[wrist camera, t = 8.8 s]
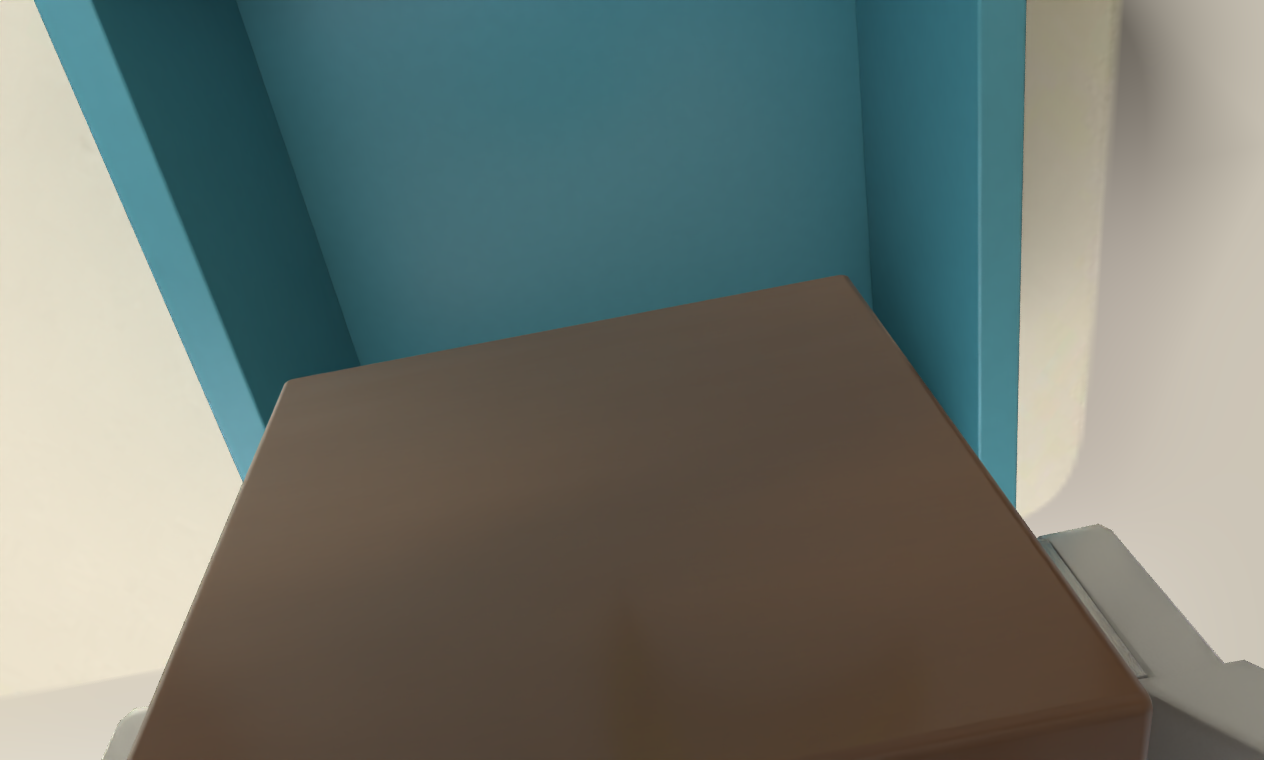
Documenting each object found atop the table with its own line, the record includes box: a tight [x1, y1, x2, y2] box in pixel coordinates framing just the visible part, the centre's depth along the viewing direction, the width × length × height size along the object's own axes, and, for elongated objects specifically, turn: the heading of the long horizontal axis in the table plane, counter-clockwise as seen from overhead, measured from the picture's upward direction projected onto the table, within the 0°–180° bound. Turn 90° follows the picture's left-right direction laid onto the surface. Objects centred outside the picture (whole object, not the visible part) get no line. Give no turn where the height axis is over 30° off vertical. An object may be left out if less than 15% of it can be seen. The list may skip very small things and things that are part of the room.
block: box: [127, 275, 1153, 760], centre depth 8 cm, size 5×5×5 cm
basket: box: [34, 0, 1026, 509], centre depth 21 cm, size 15×15×8 cm
